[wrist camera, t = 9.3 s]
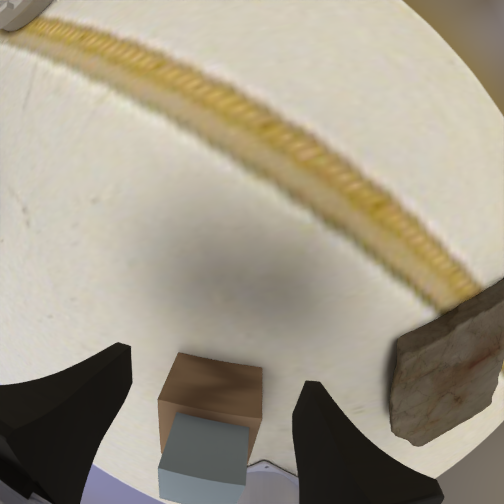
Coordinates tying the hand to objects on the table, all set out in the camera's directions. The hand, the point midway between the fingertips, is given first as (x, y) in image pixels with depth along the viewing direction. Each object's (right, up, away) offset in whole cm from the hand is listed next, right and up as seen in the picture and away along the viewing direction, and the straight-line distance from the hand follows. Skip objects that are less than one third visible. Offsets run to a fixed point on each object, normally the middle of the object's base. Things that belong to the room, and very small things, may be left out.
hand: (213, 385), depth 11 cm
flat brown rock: (+22, -6, +12) cm, 26 cm away
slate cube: (-2, -8, +7) cm, 11 cm away
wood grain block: (-2, -7, +13) cm, 15 cm away
